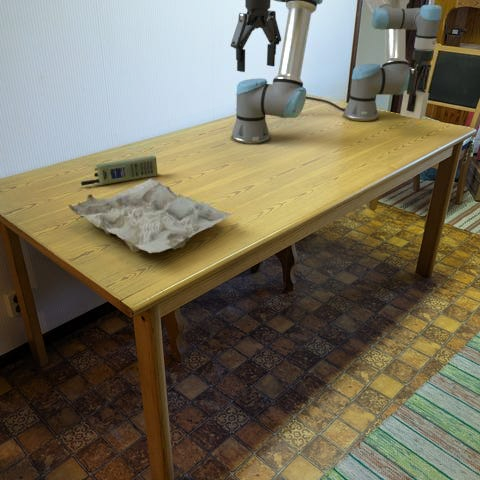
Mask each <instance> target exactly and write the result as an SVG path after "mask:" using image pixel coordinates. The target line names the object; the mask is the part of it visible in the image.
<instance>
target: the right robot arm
mask: <svg viewBox="0 0 480 480" xmlns="http://www.w3.org/2000/svg"><path fill="white" fill-rule="evenodd" d="M362 1H363V2H365V3H366V4H367V6H368V7H369V9H370V12H371V13H372V15H371V27H372V28H373V29H374V30H381V31H383V30H384V31H385V59H384V61H383V63H382V64H381V65H380V63H379V64H378V63H363V64H359V65H357V66H355V67H354V68H353V70H352V75H351V85H350V92H349V100H348V102H347V105H346V107H341V106H339V105H338V104H335V103H334V102H331V101H330V100H327V99H323V98H316V97H311V96H307V95H306V99H309V100H314V101H319V102H324V103H327V104H329V105H331V106H333V107H335V108H337V109H338V110H341V111H343V117H344V118H345V119H347V120H350V121H353V122H373V121H376V120H377V119H378V115H379V114H378V108H377V103H376V100H377V96H378V95H382V96H383V95H387V96H390V95H391V96H399V95H404V91H407V94H409V99H408V105H407V111H411V112H414V106H415V101H416V95H415V94H416V91H420V92H426V93H427V87H428V83H429V77H430V72H431V68H432V64H429V62H432V61H433V59H434V54H435V50H434V49H435V48H436V44H437V43H438V42H437V37H438V34H439V33H438V32H439V29H440V28H439V27H440V23H441V19H442V11H443V8H442V6H441V5H437V4H423V5H422V6H421V7H414V8H407V5H408V4H409V3H410V0H362ZM406 30H415V31H416V35H415V40H414V46H413V47H414V50H413V53H412V60H413V61H415V63H414V65H413V67H411V66H410V62H409V61H408V60H407V59H406Z"/></svg>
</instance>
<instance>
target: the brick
mask: <svg viewBox="0 0 480 480" xmlns="http://www.w3.org/2000/svg"><path fill="white" fill-rule="evenodd" d="M402 95H403V96H402V101H401V106H400V113H399V116H401V117H402V116H403V117H407V118H412V119H415V120H416V119H417V120H421V119H423V118H425V116H426V111H427V107H428V102H429V96H430V93H429V92H427V91H426V92H420V91H416V94H415V95H416V101H415V106H414V112H411V111H407V105H408V99H409V94H407V91H404V94H402Z"/></svg>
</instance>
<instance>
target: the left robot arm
mask: <svg viewBox="0 0 480 480" xmlns="http://www.w3.org/2000/svg"><path fill="white" fill-rule="evenodd" d="M271 1H272V0H245V4H244V7H245V9H246V13H245V12H239V13H238V20H237V24H236V27H235V30H234V32H233V36H232V39H231V42H230V47H231V48H233V49H235V60H236V71H237V72H241V73H245V71H246V49H245V46H246V44H247V42H248V40H249V39H250V37H251V35H252V32H253V31H255V30H256V29H257V30H258V29H261V30H262V32H263V34H264V35H265V37H266V39H267V41H268V42H269V43H267V51H266V66H268V67H275V64H276V63H275V62H276V54H277V46H279V44H280V42H282V36H281V33H280V29H279V25H278V22H277V16H276V14H277V13H276V10H270V9H271ZM273 1H274V2H279V3H285V7H286V8H287V10H288V11H287V13H288V14H287V19H286V26H285V31H284V36H283V44H282V47H281V48H282V49H281V55H280V61H279V67H278V73H277V75H275V77H273V79H272V83H268V80H267V79H266V78H260V77H259V78H257V77H256V78H249V79H243V80H241V81H239V82H238V83H237V85H236V93H235V96H236V119H235V123H234V125H233V129H232V133H231V140H233V141H234V142H236V143H240V144H246V145H247V144H248V145H257V144H262V143H266V142H268V141H269V140H270V130H269V127H268V124H267V121H266V116H271V117H279V118H285V119H287V118H289V119H295V118H298V117H299V116H300V115H301V113H302V111H303V109H304V107H305V104H306V99H307V98H306V96H307V89H306V88H305V87H304V82H303V81H302V79H301V75H302V70H303V64H304V58H305V52H306V48H307V47H306V46H307V41H308V35H309V30H310V24H311V19H312V14H314V12H316V11H317V8H318V5H321V4H322V3H323V1H324V0H273Z"/></svg>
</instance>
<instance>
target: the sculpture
mask: <svg viewBox="0 0 480 480" xmlns="http://www.w3.org/2000/svg"><path fill="white" fill-rule="evenodd" d="M68 208H69V209H70V210H71V211H72V213H74V214H75V215H78V216H79V218H80V219H83V218H85V219H86V220H87V221H89V222H91V223H92V224H93V225H94V226H95V227H96V228H98V229H101V230H103V231H104V232H105V233H106V234H107V235H108V236H110V235H111V234H113V235H116V236H117V237H118V238H120V239H121V240H123V241H124V243H125V244H127V246H128V248H129V249H130V251H131V252H132V253H133V252H134V253H136V252H139V251H141V250H142V251H145V252H147V253H149V254H152V253H162V252H164V251H166V250H169V249H173V250H177V249H178V248H181V249H182V248H184V247H185V245H186V243H187V242H188V241H190V239H191V238H192V237H193V236H194V235H196V234H199V233H200V232H202V231H204V230H206V229H208V228H213V226H215V224H219V222H222V221H223V220H224V219H226V218H229V217H230V216H232V213H227V212H226V211H225V212H224V211H222V210H219V209H216V208H214V207H213V206H212V205H211V204H210V203H205V202H204V201H196V200H194V199H192V198H189V196H184V195H181V194H178V195H177V194H175V193H174V192H173V190H172V189H171V188H170V186H167V185H163V184H162V183H161V182H160V181H159V180H156V179H153V178H149V179H147V180H145V181H143V182H141V183H139V184H136V185H134V186H133V187H130V188H129V189H125V190H123V191H121V192H120V193H117V194H115V195H113V196H111V197H109V198H101V199H99V198H96V197H94V196H93V194H88V195H87V197H86V200H85V201H82V202H80V201H79V202H78V203H77V205H72V204H68Z"/></svg>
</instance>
